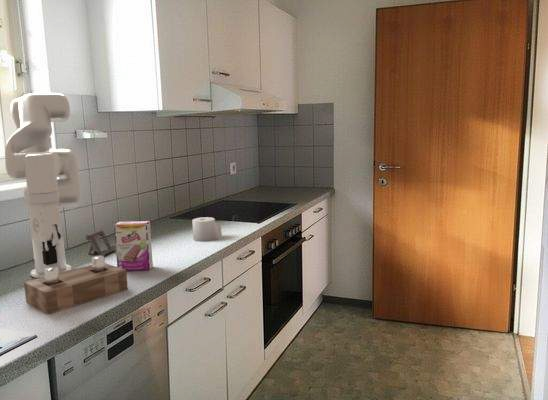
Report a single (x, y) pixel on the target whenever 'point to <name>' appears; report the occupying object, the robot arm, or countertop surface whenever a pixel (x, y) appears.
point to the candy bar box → (133, 245)
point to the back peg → (98, 264)
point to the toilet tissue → (206, 229)
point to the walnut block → (75, 288)
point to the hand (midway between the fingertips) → (50, 263)
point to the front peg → (51, 276)
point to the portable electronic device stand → (95, 240)
